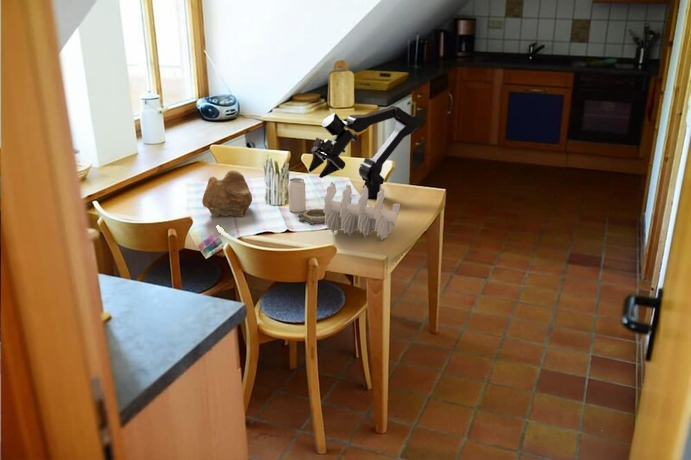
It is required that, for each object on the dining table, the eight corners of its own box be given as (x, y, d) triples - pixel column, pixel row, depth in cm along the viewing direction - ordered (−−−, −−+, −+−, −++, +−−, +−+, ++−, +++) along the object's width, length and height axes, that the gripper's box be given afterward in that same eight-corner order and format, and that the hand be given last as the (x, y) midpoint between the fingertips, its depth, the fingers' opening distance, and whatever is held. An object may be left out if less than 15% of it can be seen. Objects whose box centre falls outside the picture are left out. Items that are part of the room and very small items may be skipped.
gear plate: (340, 213, 248) (340, 208, 247) (331, 226, 235) (331, 221, 234) (304, 210, 251) (304, 205, 250) (293, 223, 238) (293, 218, 237)
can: (303, 213, 248) (302, 183, 243) (287, 212, 249) (286, 182, 245) (307, 207, 254) (307, 178, 249) (291, 206, 255) (290, 177, 250)
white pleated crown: (388, 254, 222) (321, 240, 229) (403, 218, 233) (338, 206, 240) (385, 216, 209) (314, 203, 216) (401, 180, 220) (332, 169, 227)
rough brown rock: (235, 228, 235) (237, 188, 230) (196, 218, 240) (196, 180, 235) (265, 210, 256) (267, 173, 251) (228, 201, 261) (229, 165, 256)
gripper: (315, 125, 254) (290, 156, 253) (338, 134, 239) (311, 167, 238) (333, 142, 260) (308, 173, 259) (356, 153, 245) (330, 185, 244)
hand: (314, 174), depth 250 cm, fingers open, 9 cm apart
